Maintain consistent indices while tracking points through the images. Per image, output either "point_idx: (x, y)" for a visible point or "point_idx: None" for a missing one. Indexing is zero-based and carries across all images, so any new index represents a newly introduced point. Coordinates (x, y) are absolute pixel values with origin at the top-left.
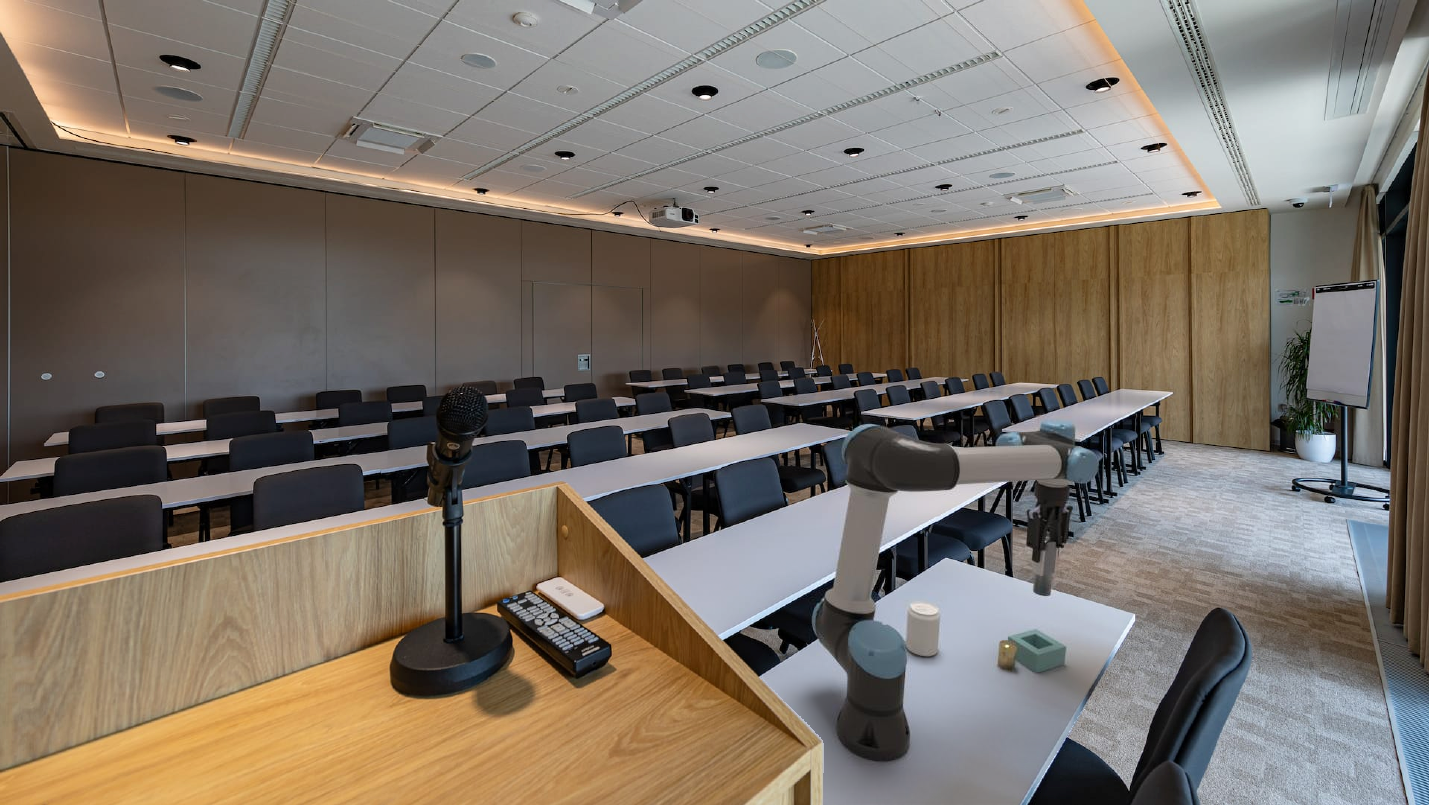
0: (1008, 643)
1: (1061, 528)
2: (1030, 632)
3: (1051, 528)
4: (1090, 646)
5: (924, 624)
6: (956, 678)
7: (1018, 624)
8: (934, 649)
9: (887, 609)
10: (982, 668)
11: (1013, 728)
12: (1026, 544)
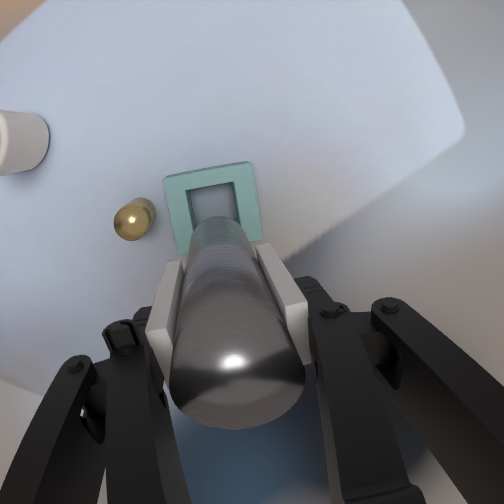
0: (133, 219)
1: (423, 408)
2: (226, 173)
3: (328, 437)
4: (351, 189)
5: None
6: (44, 231)
7: (275, 83)
8: (29, 168)
9: (52, 8)
10: (95, 211)
11: (76, 340)
12: (62, 367)
